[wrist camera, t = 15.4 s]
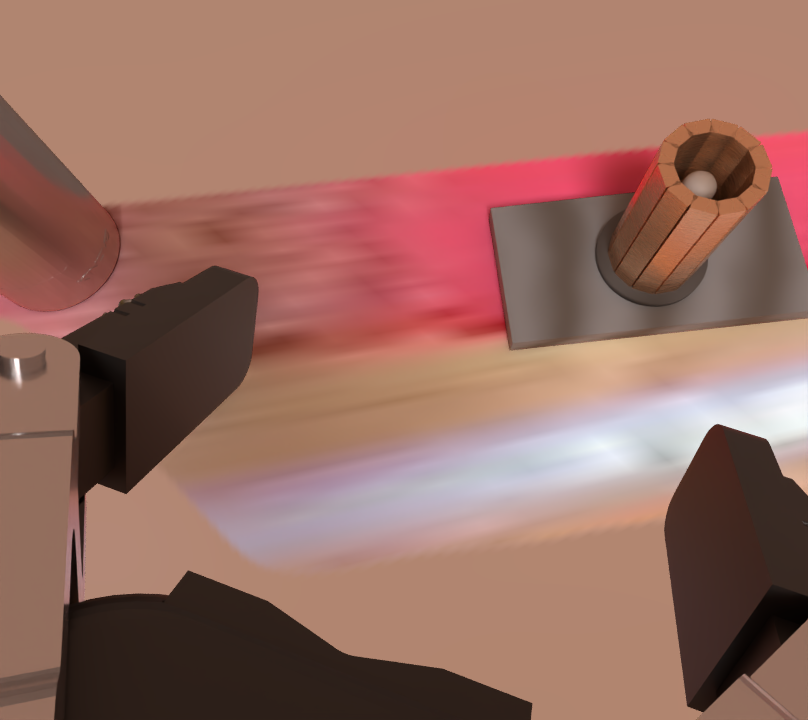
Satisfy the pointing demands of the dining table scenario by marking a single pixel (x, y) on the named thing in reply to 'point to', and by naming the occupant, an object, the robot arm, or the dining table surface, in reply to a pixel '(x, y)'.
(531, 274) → the shaft stand
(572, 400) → the dining table surface
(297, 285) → the dining table surface
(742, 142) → the copper collar
